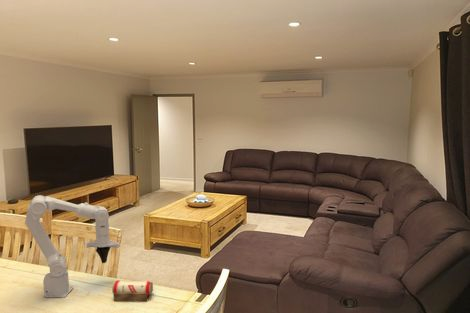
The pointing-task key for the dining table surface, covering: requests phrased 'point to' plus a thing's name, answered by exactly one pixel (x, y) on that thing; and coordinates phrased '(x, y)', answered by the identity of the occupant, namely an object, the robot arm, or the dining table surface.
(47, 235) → the robot arm
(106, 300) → the dining table surface
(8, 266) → the dining table surface
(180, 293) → the dining table surface
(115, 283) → the beer can
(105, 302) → the dining table surface
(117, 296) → the u rest
